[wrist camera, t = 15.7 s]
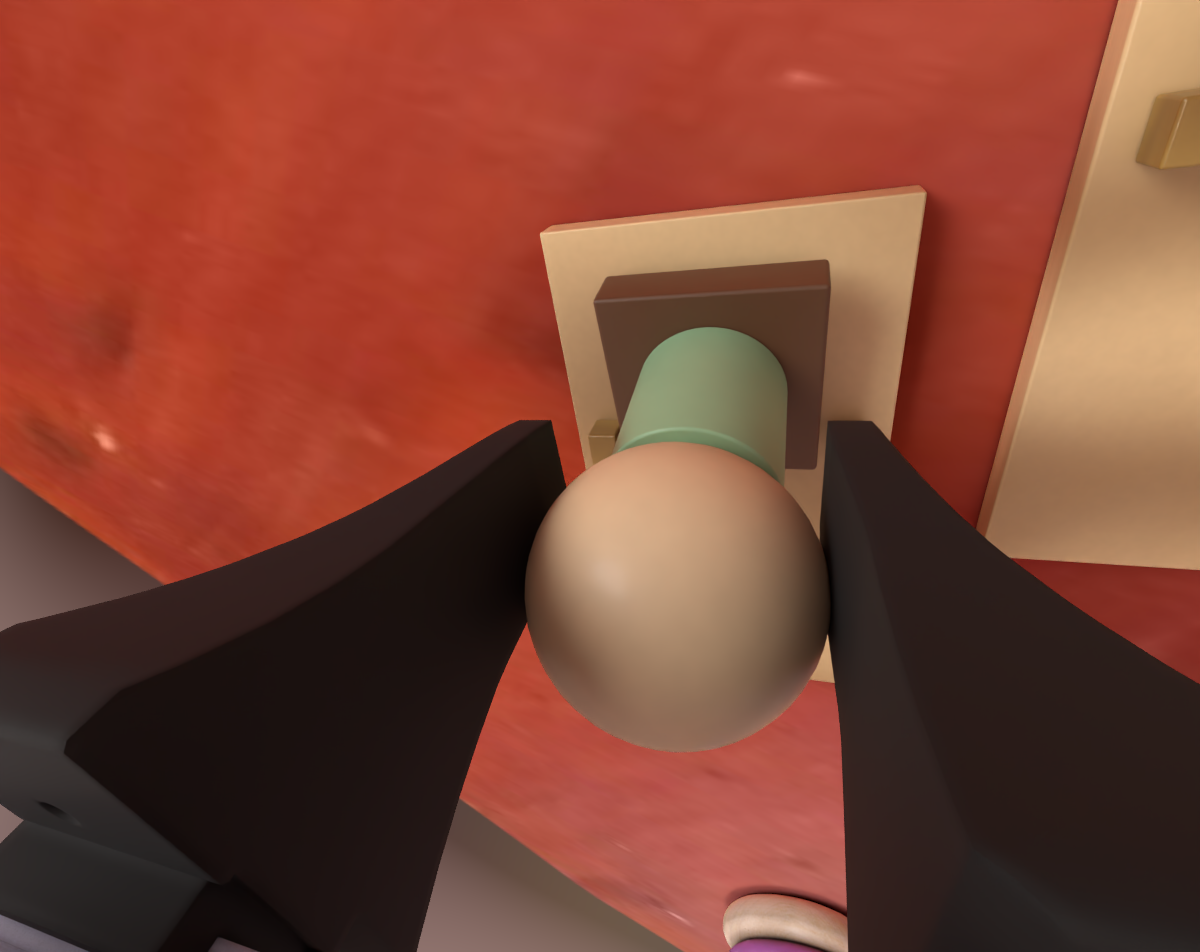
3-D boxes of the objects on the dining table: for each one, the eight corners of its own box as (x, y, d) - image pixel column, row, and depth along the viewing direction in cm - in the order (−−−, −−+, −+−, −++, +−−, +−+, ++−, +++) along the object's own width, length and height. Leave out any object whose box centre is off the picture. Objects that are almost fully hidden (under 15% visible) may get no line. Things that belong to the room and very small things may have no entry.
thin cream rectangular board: (852, 666, 20) (856, 710, 18) (626, 638, 22) (616, 675, 21) (920, 184, 11) (936, 200, 10) (550, 225, 14) (524, 242, 13)
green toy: (823, 833, 8) (858, 667, 5) (529, 771, 10) (420, 613, 7) (816, 438, 14) (829, 256, 11) (635, 436, 16) (605, 275, 13)
